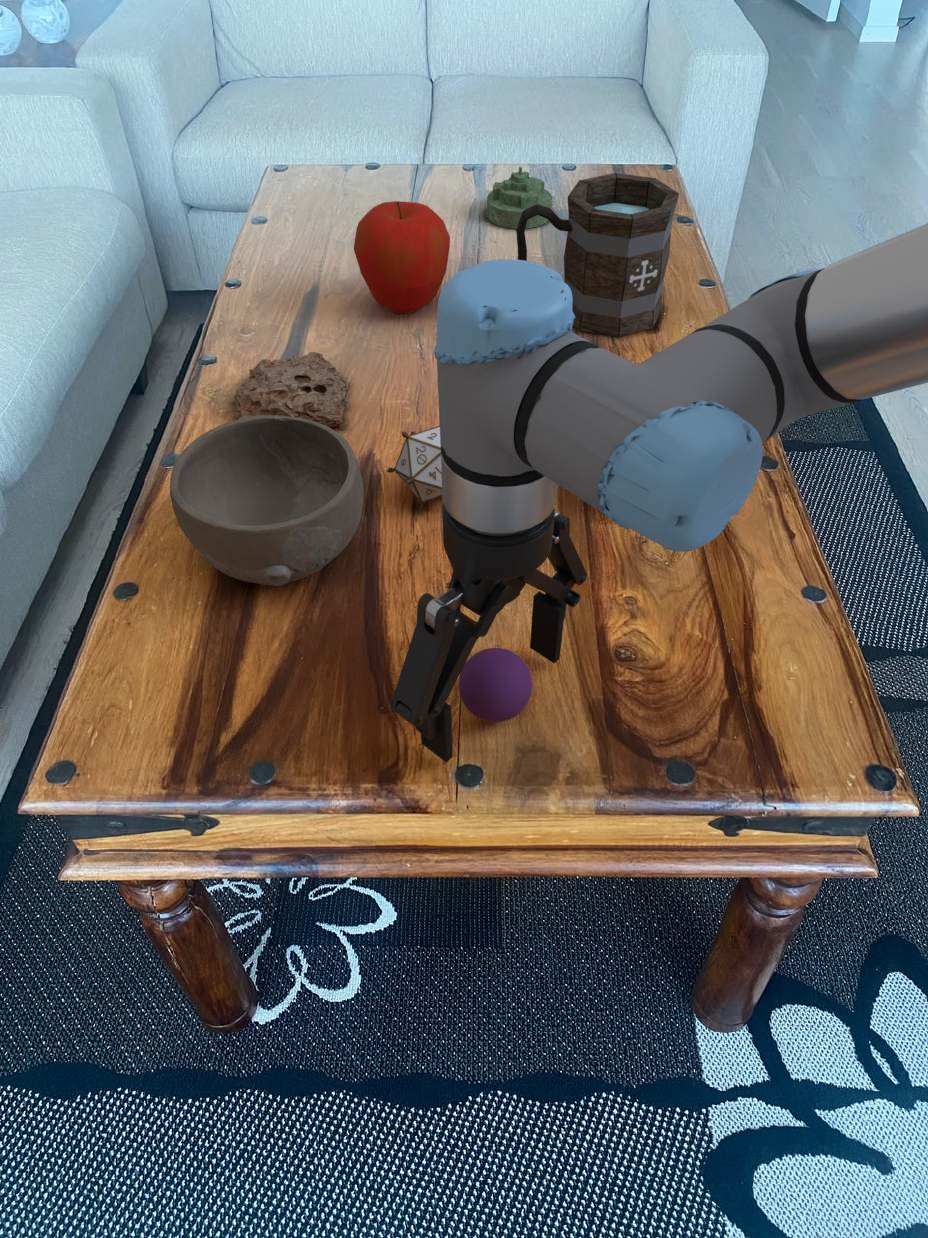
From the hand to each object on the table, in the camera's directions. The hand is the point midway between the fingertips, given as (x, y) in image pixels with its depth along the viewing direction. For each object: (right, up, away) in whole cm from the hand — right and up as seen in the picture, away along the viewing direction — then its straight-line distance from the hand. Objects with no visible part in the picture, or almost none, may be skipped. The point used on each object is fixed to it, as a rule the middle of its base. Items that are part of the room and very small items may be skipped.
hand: (493, 700), depth 76 cm
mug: (+14, +47, +45) cm, 67 cm away
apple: (-10, +48, +47) cm, 68 cm away
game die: (-5, +20, +20) cm, 28 cm away
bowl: (-21, +14, +15) cm, 29 cm away
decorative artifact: (+6, +69, +66) cm, 96 cm away
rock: (-23, +33, +32) cm, 51 cm away
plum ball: (0, +1, -2) cm, 2 cm away
